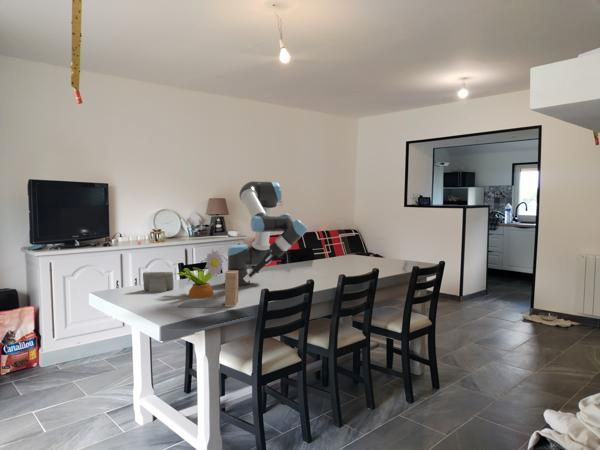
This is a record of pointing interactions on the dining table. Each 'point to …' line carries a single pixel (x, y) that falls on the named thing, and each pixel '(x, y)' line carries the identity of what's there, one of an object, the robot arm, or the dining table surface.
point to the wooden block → (231, 288)
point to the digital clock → (158, 281)
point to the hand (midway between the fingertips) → (245, 280)
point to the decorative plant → (200, 285)
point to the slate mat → (202, 303)
